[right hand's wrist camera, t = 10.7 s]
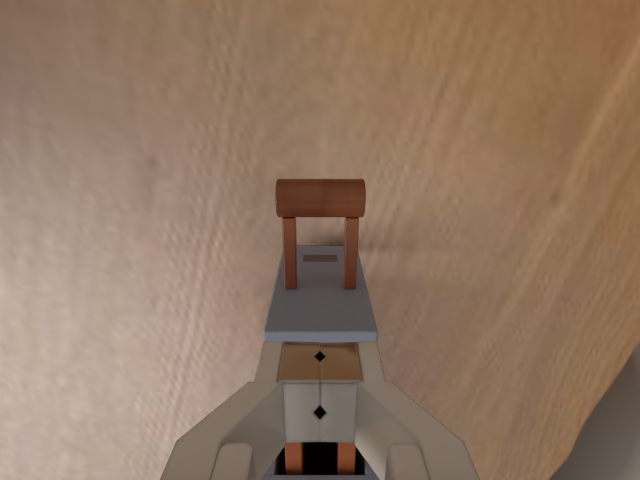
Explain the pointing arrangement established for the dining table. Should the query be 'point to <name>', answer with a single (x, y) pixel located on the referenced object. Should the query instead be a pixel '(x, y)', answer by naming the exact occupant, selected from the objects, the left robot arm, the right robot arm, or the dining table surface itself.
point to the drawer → (320, 296)
